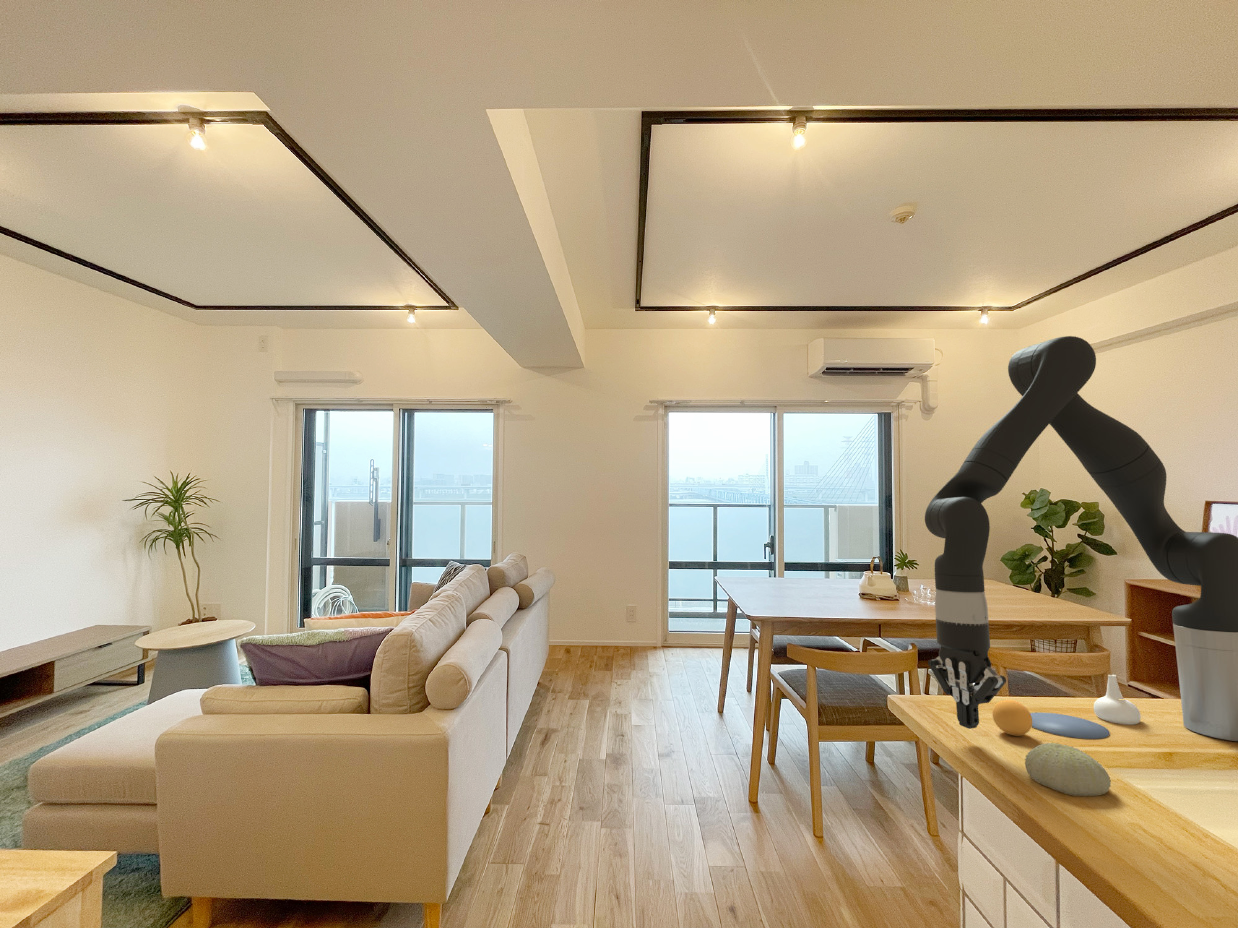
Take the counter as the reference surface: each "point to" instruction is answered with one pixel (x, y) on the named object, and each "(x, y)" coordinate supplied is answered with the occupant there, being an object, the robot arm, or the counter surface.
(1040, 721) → the disc
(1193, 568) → the robot arm
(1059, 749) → the sea urchin shell
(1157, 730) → the counter surface
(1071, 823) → the counter surface
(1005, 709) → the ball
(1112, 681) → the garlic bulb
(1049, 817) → the counter surface
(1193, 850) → the counter surface
